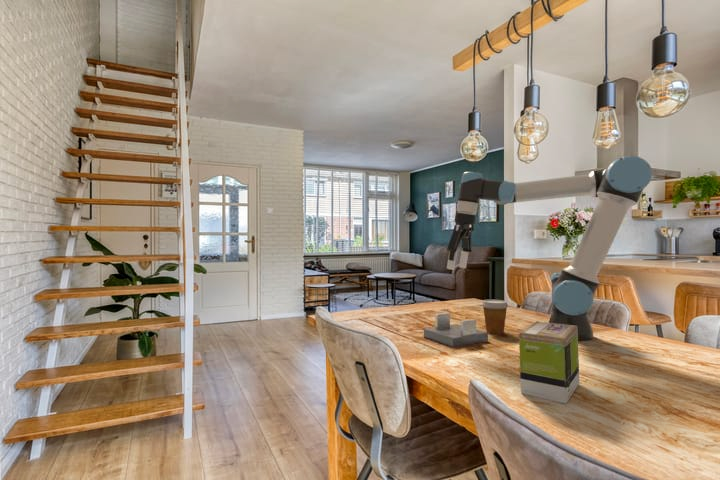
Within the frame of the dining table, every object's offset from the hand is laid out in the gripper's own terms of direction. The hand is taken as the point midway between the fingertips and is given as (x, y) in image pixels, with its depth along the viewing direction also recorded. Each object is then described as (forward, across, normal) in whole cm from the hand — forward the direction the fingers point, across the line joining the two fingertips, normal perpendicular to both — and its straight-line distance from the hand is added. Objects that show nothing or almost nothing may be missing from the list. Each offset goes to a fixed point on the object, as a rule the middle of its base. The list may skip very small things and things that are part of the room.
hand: (456, 268), depth 148 cm
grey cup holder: (+24, +8, +6) cm, 26 cm away
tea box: (+19, +41, +41) cm, 61 cm away
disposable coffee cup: (+22, -10, +16) cm, 29 cm away
